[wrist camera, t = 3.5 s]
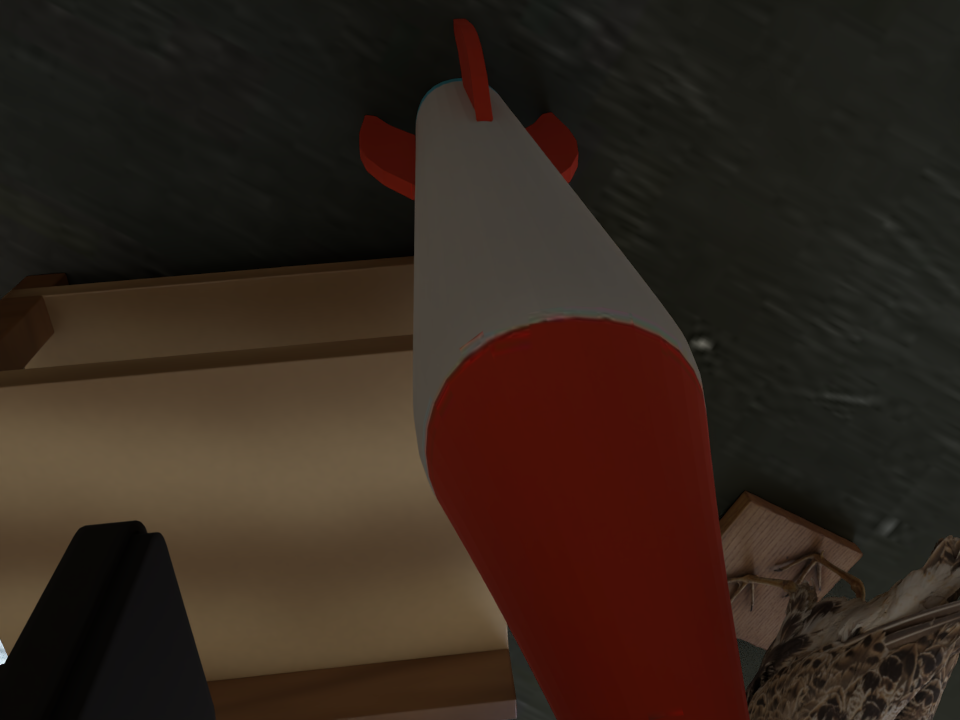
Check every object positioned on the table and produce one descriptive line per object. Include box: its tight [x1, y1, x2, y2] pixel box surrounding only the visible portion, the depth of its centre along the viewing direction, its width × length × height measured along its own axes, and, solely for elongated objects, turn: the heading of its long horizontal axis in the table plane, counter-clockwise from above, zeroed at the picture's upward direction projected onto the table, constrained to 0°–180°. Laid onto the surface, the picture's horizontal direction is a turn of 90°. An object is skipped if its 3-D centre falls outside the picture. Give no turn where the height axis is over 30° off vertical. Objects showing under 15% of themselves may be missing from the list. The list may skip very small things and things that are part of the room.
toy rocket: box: [359, 19, 750, 720], centre depth 19 cm, size 6×6×30 cm
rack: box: [0, 256, 517, 720], centre depth 32 cm, size 14×18×12 cm
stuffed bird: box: [719, 491, 960, 720], centre depth 37 cm, size 10×20×17 cm, turn 169°
